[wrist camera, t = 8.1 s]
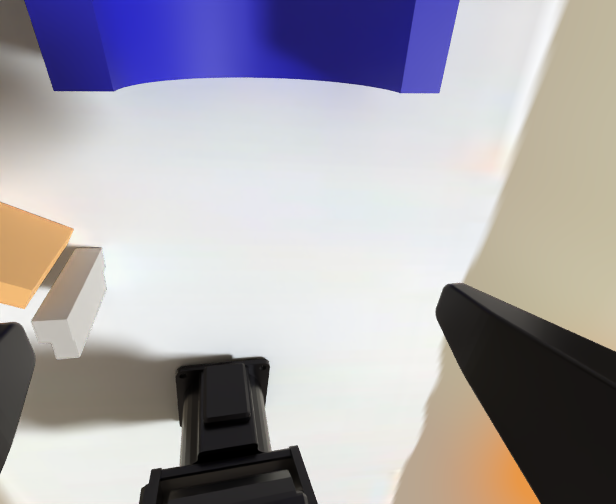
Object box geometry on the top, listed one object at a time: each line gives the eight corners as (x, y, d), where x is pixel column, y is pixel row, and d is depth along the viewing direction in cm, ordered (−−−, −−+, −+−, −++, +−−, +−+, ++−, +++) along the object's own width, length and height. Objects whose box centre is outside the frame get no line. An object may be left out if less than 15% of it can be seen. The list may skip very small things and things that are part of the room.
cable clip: (386, -42, 15) (477, -80, 10) (372, 76, 17) (439, 93, 12) (70, -74, 12) (-25, -150, 7) (106, 71, 14) (53, 90, 9)
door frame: (109, 288, 19) (80, 366, 15) (85, 289, 19) (47, 368, 15) (44, -51, 12) (-54, -101, 7) (2, -59, 12) (-127, -117, 7)
